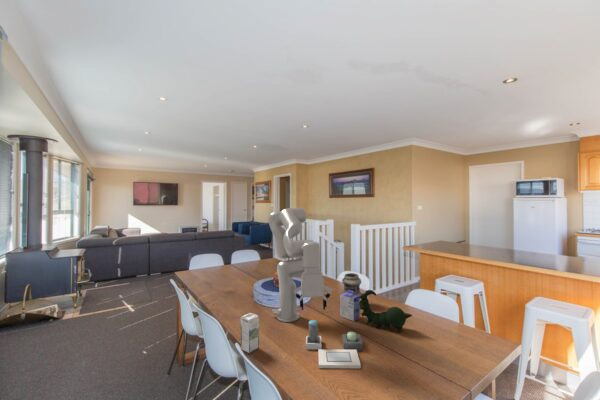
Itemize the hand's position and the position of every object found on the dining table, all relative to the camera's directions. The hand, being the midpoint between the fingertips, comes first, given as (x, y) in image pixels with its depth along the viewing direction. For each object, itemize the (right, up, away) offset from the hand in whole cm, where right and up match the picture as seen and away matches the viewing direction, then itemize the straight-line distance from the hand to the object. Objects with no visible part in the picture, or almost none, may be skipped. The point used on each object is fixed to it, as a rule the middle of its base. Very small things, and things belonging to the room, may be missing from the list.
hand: (313, 308), depth 120 cm
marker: (0, -17, 0) cm, 17 cm away
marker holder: (0, -17, 0) cm, 17 cm away
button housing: (+17, -16, 0) cm, 24 cm away
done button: (+17, -15, 0) cm, 22 cm away
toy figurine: (+37, -16, +16) cm, 43 cm away
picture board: (+10, -16, -11) cm, 22 cm away
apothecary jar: (+27, -16, +48) cm, 57 cm away
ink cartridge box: (+22, -17, +28) cm, 39 cm away
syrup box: (-28, -17, -1) cm, 33 cm away
